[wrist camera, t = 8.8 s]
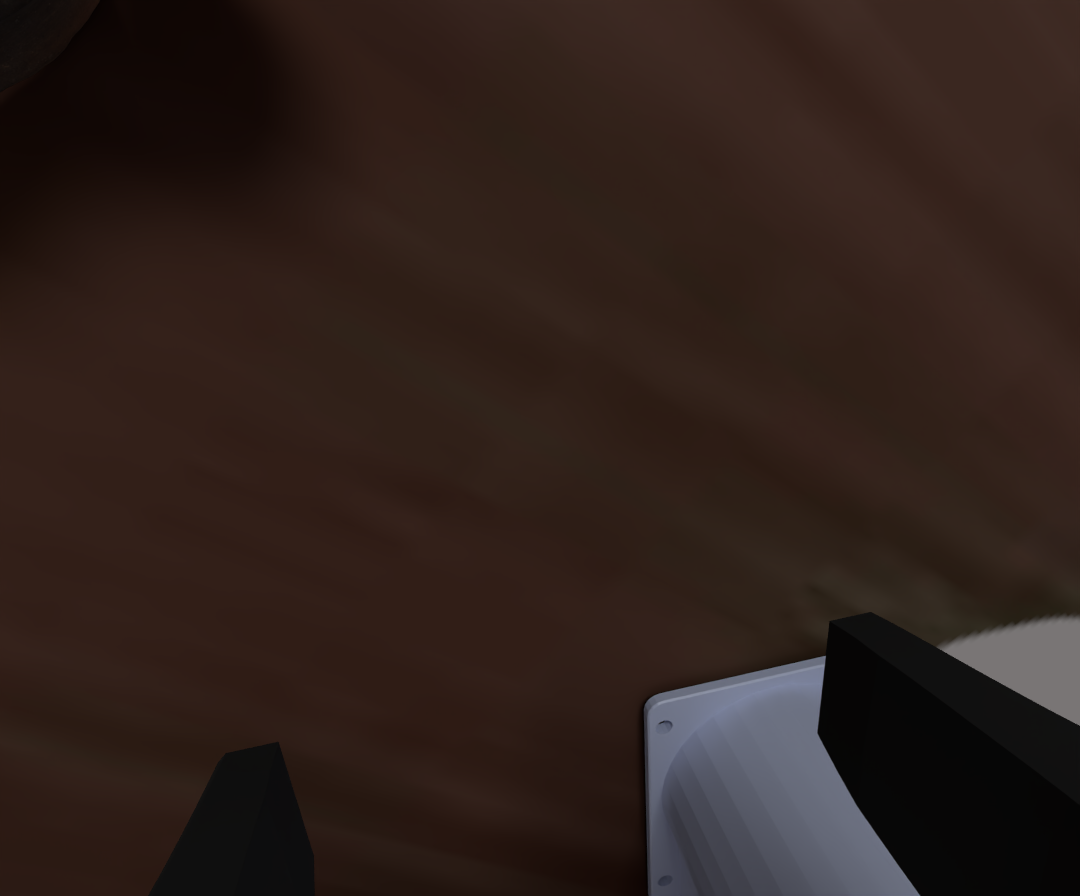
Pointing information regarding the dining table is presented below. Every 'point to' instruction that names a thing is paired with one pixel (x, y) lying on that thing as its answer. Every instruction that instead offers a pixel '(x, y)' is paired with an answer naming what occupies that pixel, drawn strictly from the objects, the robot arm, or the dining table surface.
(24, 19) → the pottery mug
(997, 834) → the robot arm
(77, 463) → the dining table surface
